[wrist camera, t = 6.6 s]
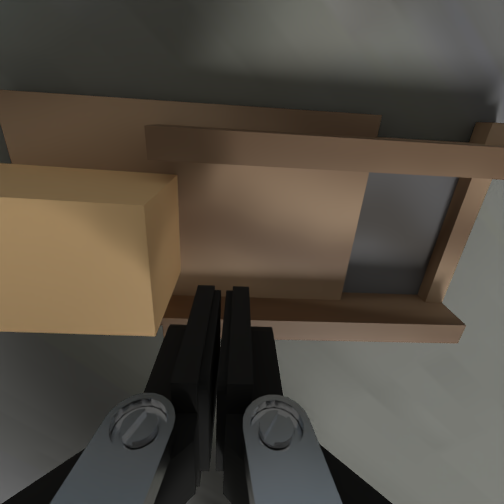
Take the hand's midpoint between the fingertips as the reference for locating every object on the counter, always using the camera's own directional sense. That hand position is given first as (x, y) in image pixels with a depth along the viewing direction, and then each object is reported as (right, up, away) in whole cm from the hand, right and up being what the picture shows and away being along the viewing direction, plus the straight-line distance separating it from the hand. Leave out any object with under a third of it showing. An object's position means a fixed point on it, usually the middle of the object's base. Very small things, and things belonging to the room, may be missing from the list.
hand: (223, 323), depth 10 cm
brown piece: (+2, +4, +6) cm, 7 cm away
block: (-7, +4, +4) cm, 9 cm away
